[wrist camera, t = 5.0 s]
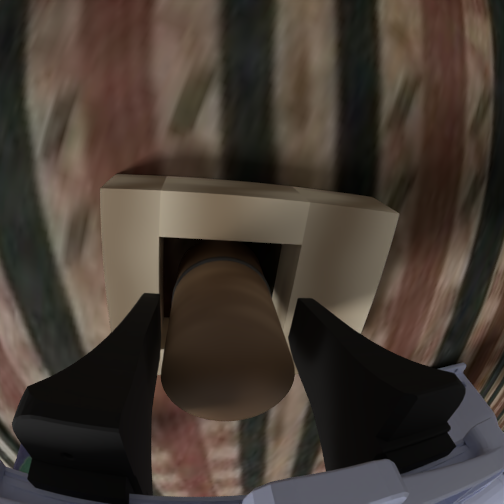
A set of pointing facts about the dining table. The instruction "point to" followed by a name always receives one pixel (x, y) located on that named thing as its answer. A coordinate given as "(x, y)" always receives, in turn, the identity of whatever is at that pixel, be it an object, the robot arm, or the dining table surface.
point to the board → (250, 230)
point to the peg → (224, 336)
